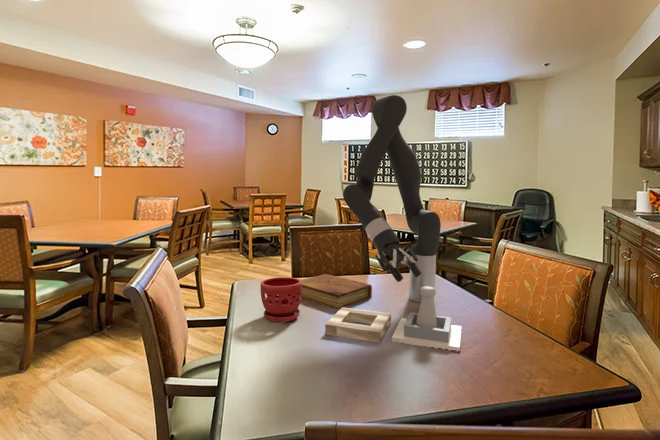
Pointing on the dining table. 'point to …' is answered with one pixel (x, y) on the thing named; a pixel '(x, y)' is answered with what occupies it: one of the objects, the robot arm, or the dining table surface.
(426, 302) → the salt shaker
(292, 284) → the plant pot
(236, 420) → the dining table surface
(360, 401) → the dining table surface
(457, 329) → the socket plate
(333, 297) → the diary
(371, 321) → the birch holder block
